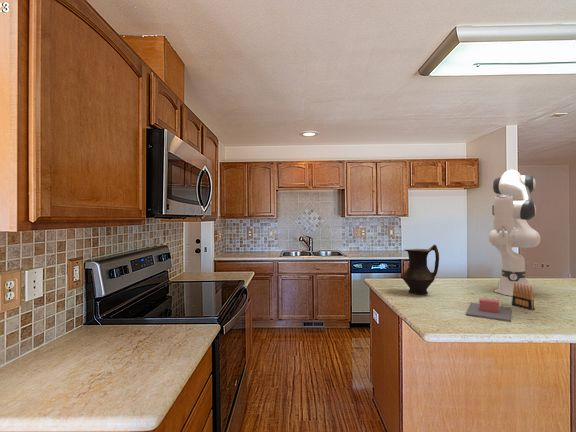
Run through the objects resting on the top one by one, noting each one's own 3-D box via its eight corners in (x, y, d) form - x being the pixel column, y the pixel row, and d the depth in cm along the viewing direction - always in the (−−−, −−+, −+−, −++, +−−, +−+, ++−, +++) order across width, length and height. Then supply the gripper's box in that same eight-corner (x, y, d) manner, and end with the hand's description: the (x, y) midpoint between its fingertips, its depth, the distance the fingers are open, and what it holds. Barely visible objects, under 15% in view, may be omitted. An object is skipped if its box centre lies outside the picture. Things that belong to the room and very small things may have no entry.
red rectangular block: (498, 310, 168) (498, 300, 168) (498, 312, 164) (498, 302, 164) (480, 308, 172) (480, 298, 172) (479, 310, 168) (479, 300, 168)
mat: (470, 303, 183) (470, 302, 183) (511, 309, 173) (511, 307, 173) (465, 315, 163) (465, 313, 163) (510, 321, 153) (510, 320, 153)
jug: (400, 295, 201) (400, 245, 201) (402, 289, 218) (402, 242, 218) (439, 299, 193) (439, 246, 193) (438, 292, 210) (438, 243, 210)
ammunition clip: (534, 310, 171) (534, 286, 171) (531, 310, 171) (531, 286, 171) (514, 304, 181) (514, 282, 181) (511, 304, 181) (511, 282, 181)
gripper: (510, 227, 164) (510, 256, 164) (511, 225, 181) (511, 251, 181) (495, 227, 167) (495, 255, 167) (497, 225, 184) (497, 250, 184)
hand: (503, 253), depth 174 cm, fingers open, 8 cm apart
